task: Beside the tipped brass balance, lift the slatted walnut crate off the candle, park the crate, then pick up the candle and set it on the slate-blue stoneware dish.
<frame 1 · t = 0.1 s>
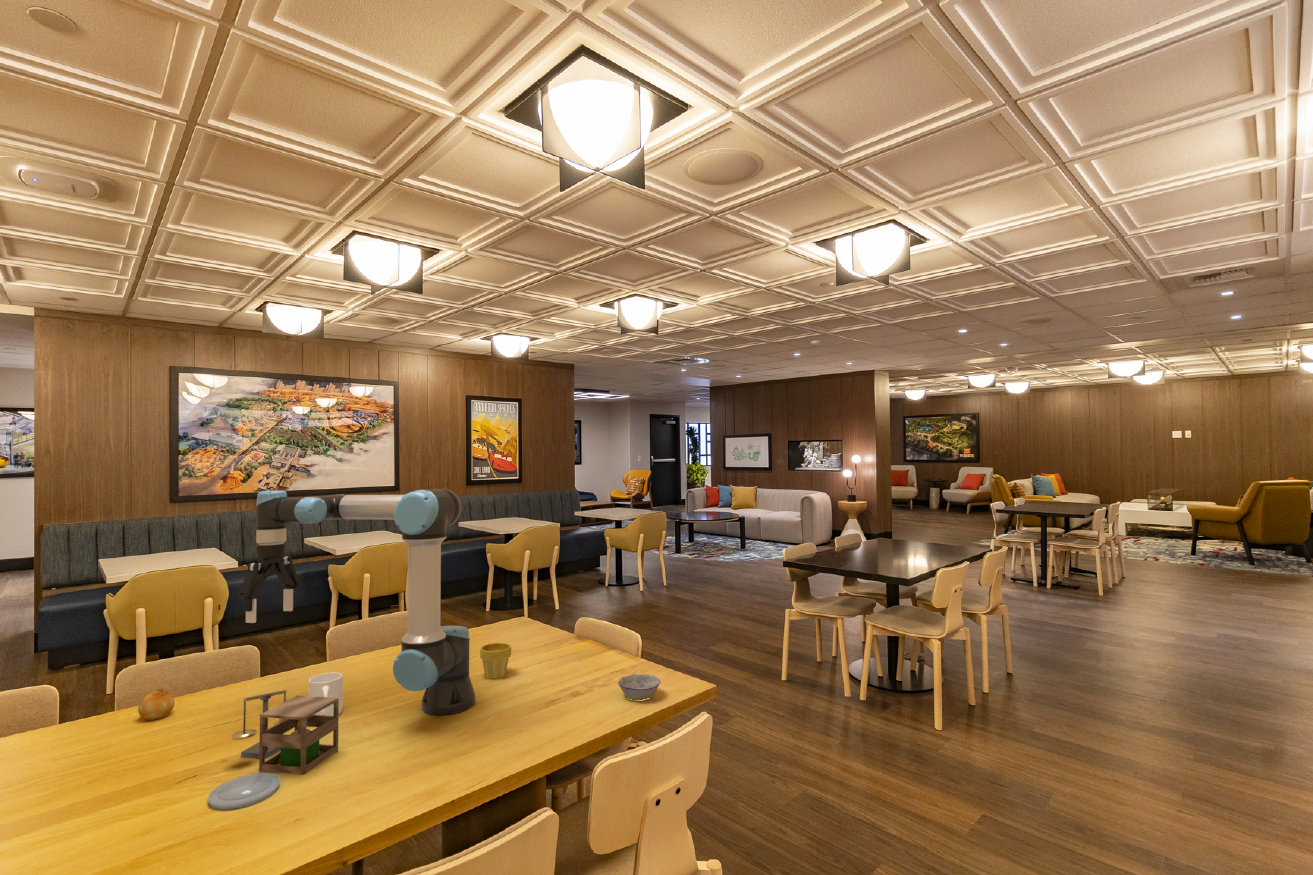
hand: (270, 616, 178), 28 cm above the table, fingers open, 13 cm apart
mug: (325, 717, 174), on the table
brown onion: (156, 717, 176), on the table
dish: (244, 793, 134), on the table
bowl: (639, 697, 187), on the table
balance: (264, 751, 154), on the table
plant pot: (495, 676, 207), on the table
candle: (299, 761, 149), on the table
crate: (299, 760, 149), on the table
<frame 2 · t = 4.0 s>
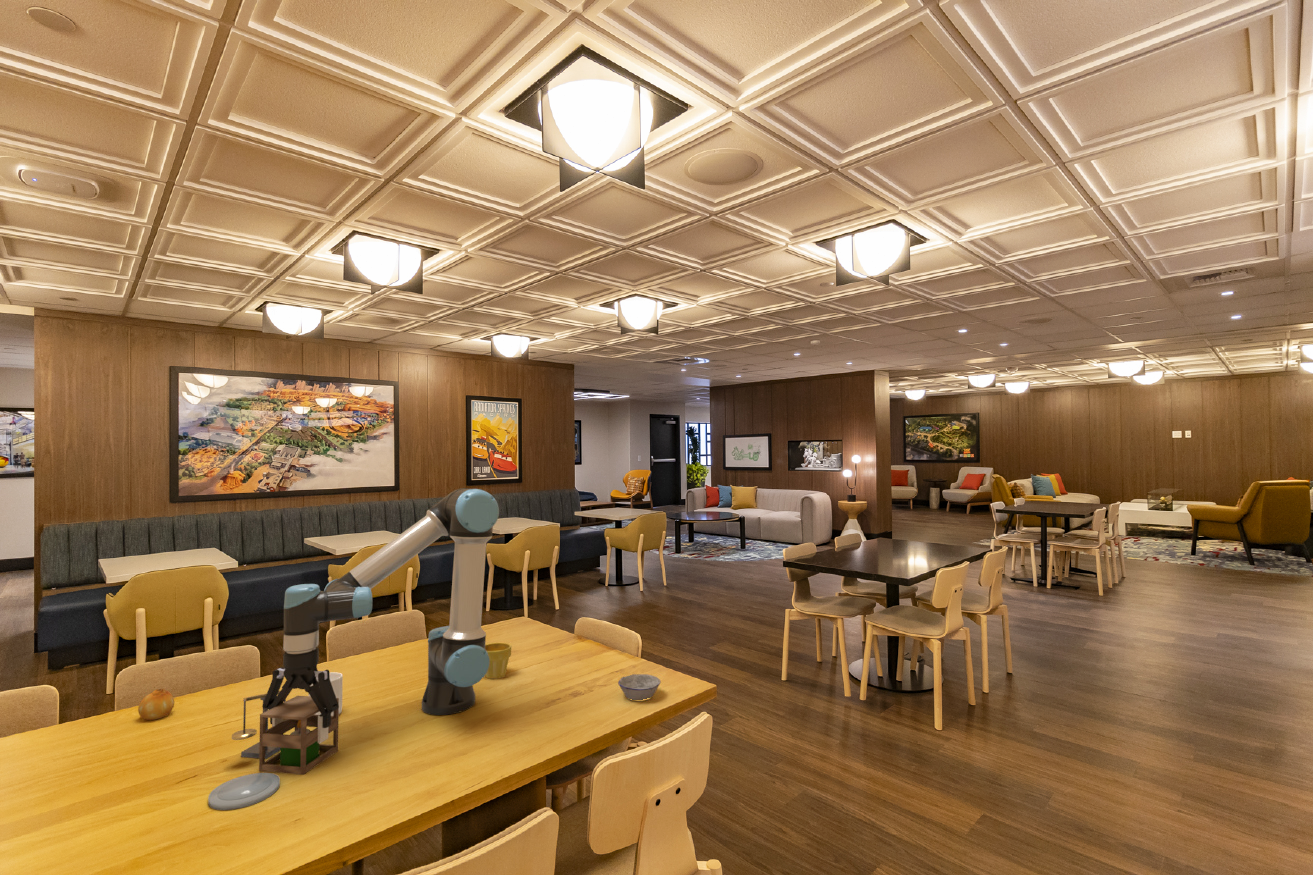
hand: (300, 739, 149), 5 cm above the table, fingers closed on crate, 12 cm apart
crate: (299, 760, 149), on the table, touching gripper
everything else where it was.
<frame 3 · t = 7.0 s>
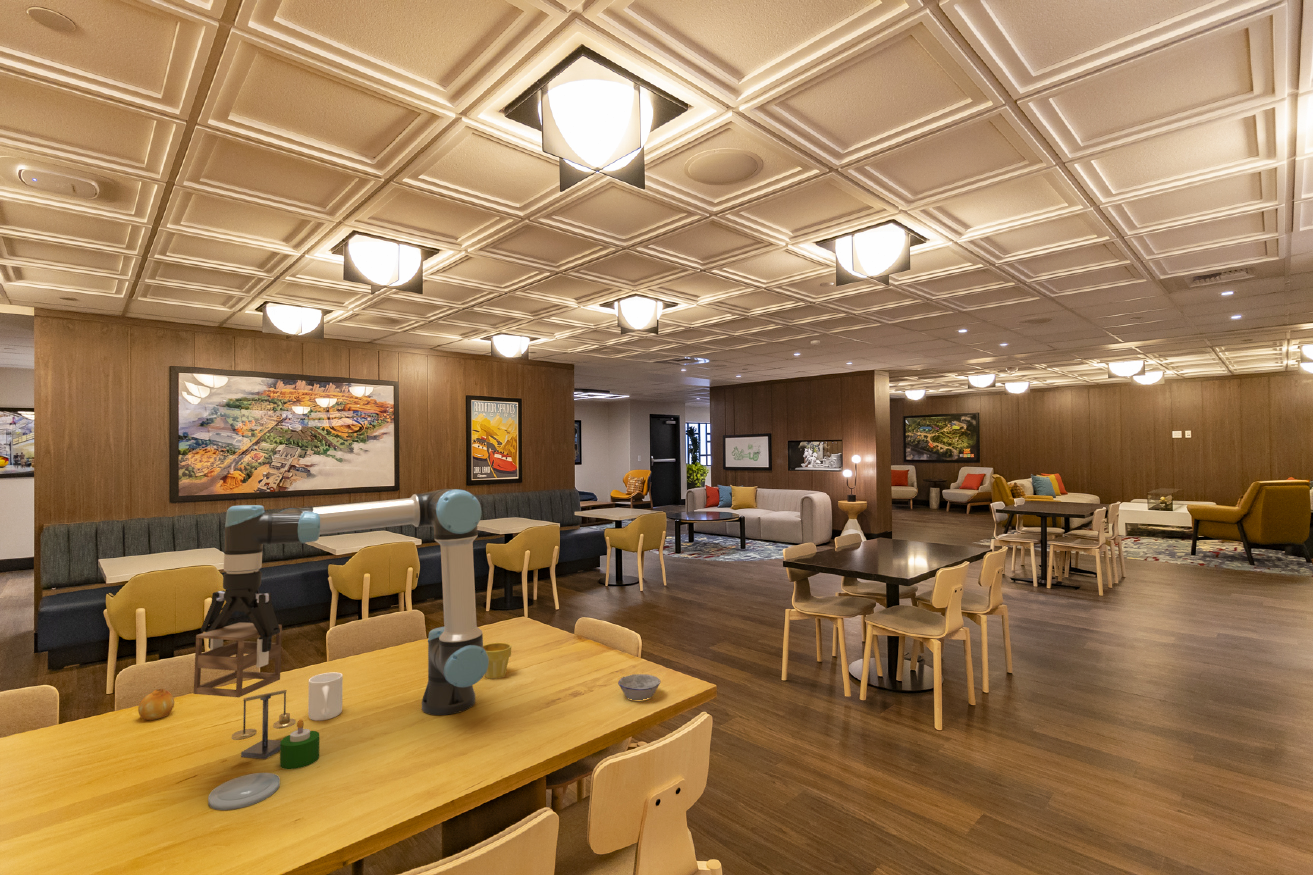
hand: (238, 664, 143), 25 cm above the table, fingers closed on crate, 12 cm apart
crate: (238, 686, 143), point 20 cm above the table, touching gripper
everything else where it was.
when the fingers open (7 cm above the table, at t = 10.2 s): crate drops 2 cm, on the table.
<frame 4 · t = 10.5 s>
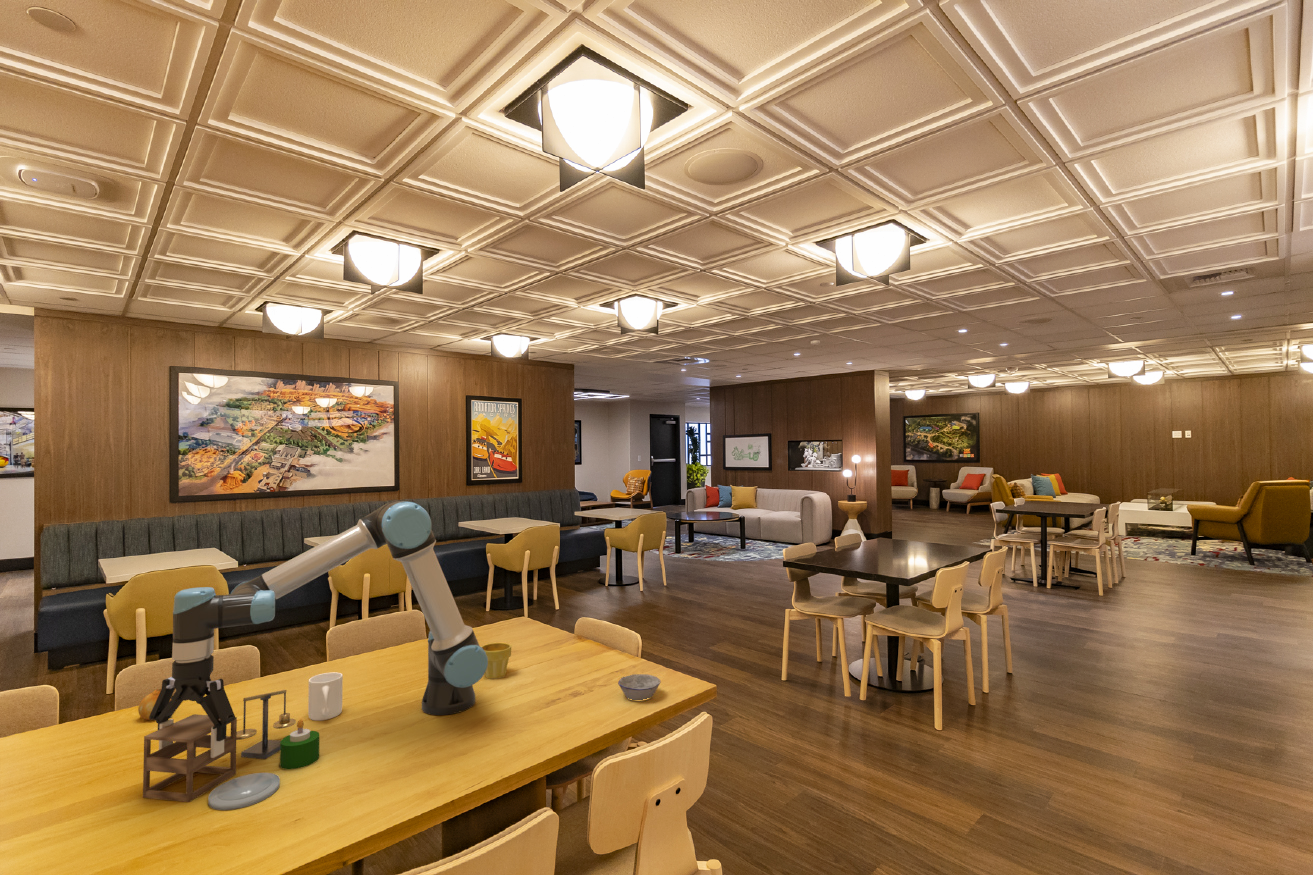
hand: (191, 752, 138), 7 cm above the table, fingers open, 13 cm apart
crate: (190, 785, 137), on the table
everything else where it was.
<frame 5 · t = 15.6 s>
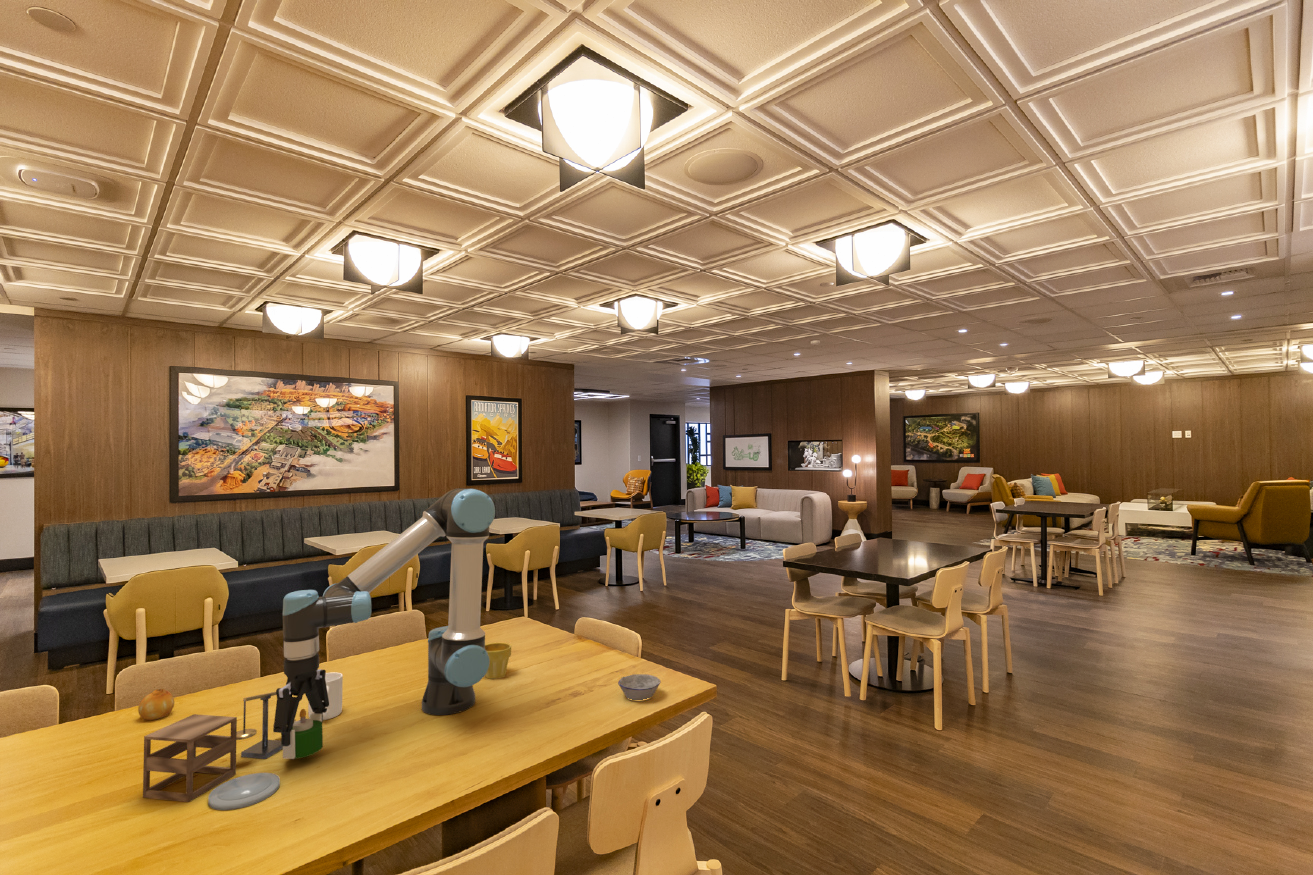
hand: (303, 748, 149), 3 cm above the table, fingers closed on candle, 8 cm apart
candle: (303, 750, 149), point 2 cm above the table, touching gripper
everything else where it was.
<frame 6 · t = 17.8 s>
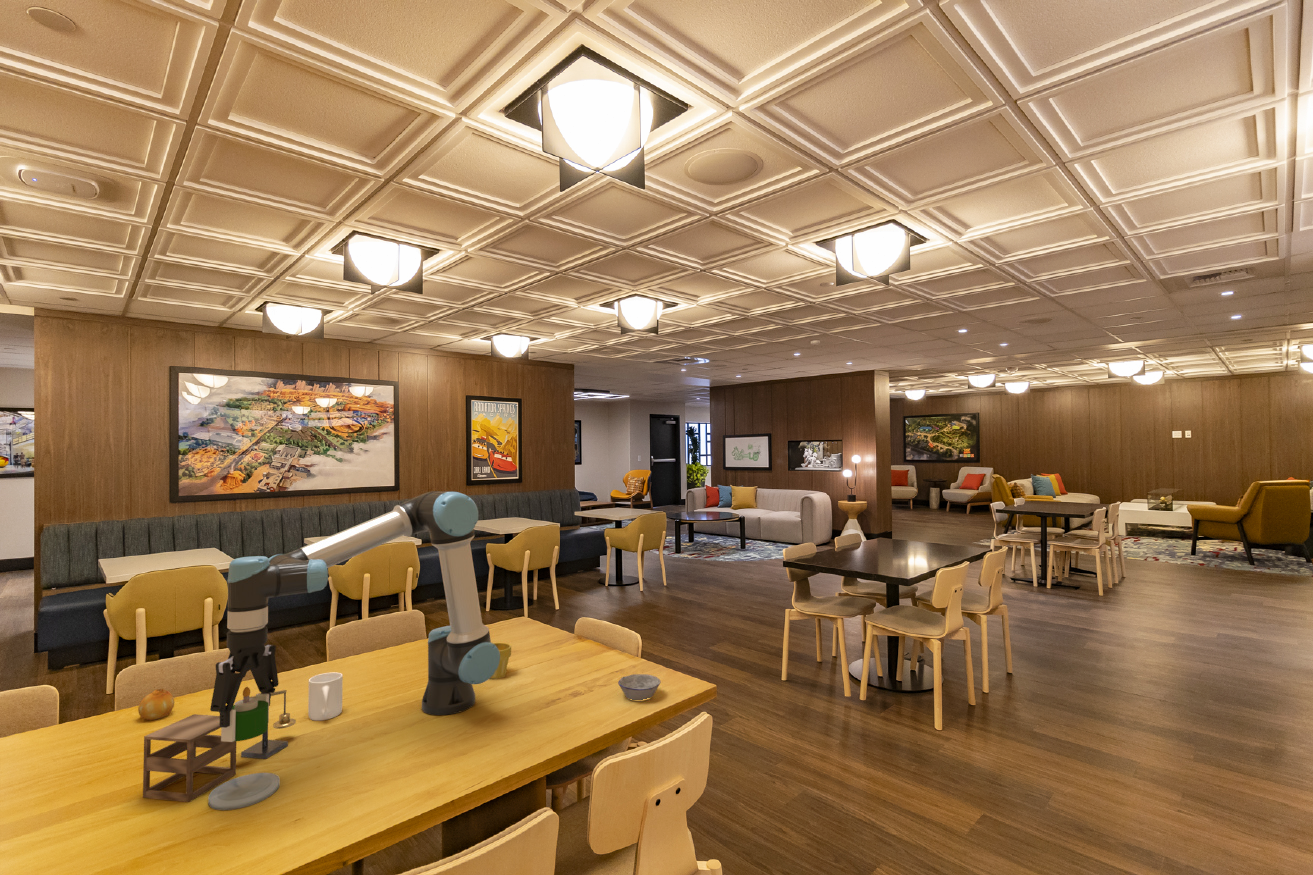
hand: (245, 731, 134), 13 cm above the table, fingers closed on candle, 8 cm apart
candle: (245, 733, 134), point 13 cm above the table, touching gripper
everything else where it was.
when the fingers open (2 cm above the table, at t = 20.0 s): candle stays where it is, resting on dish.
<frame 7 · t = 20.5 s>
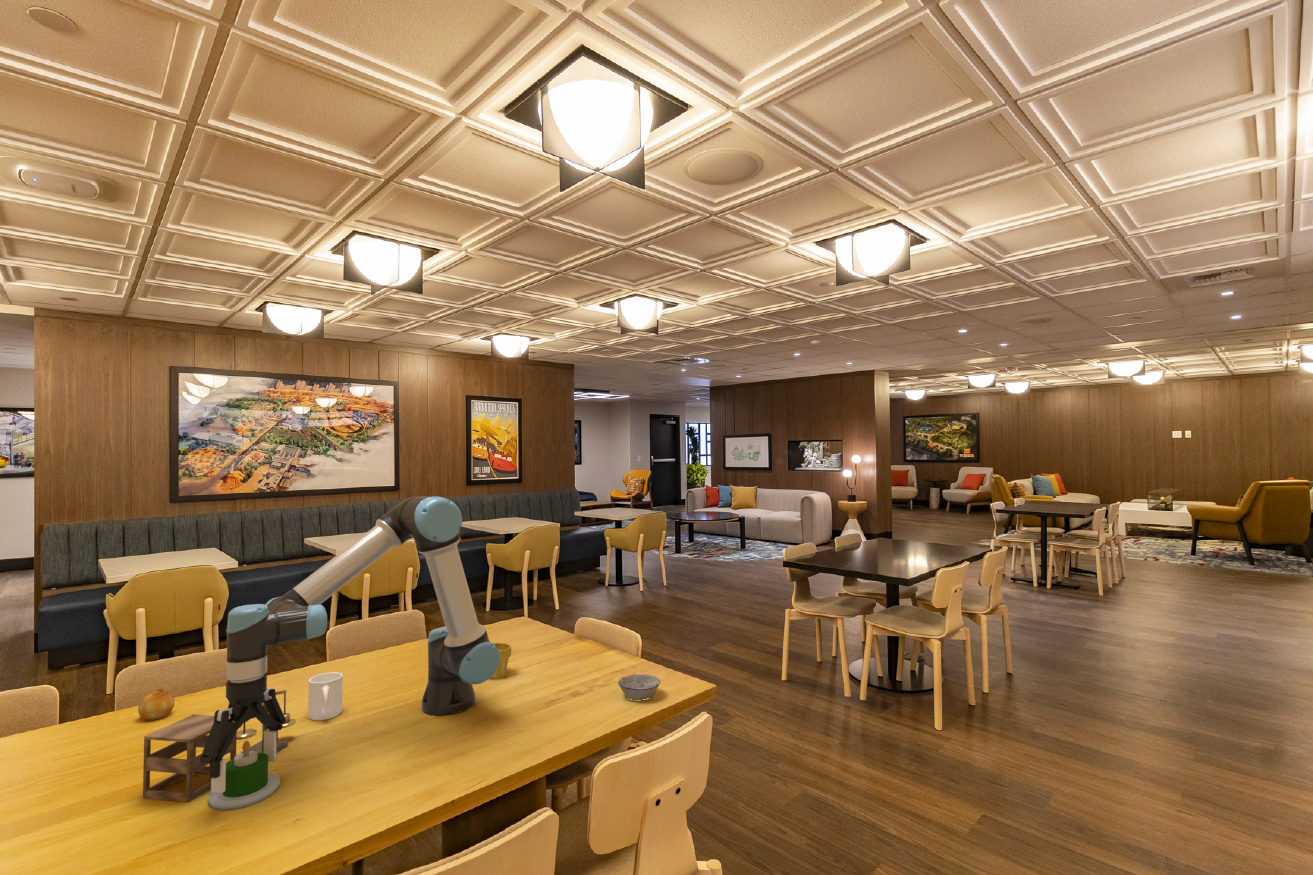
hand: (245, 775, 134), 4 cm above the table, fingers open, 13 cm apart
candle: (245, 787, 134), point 1 cm above the table, touching dish
everything else where it was.
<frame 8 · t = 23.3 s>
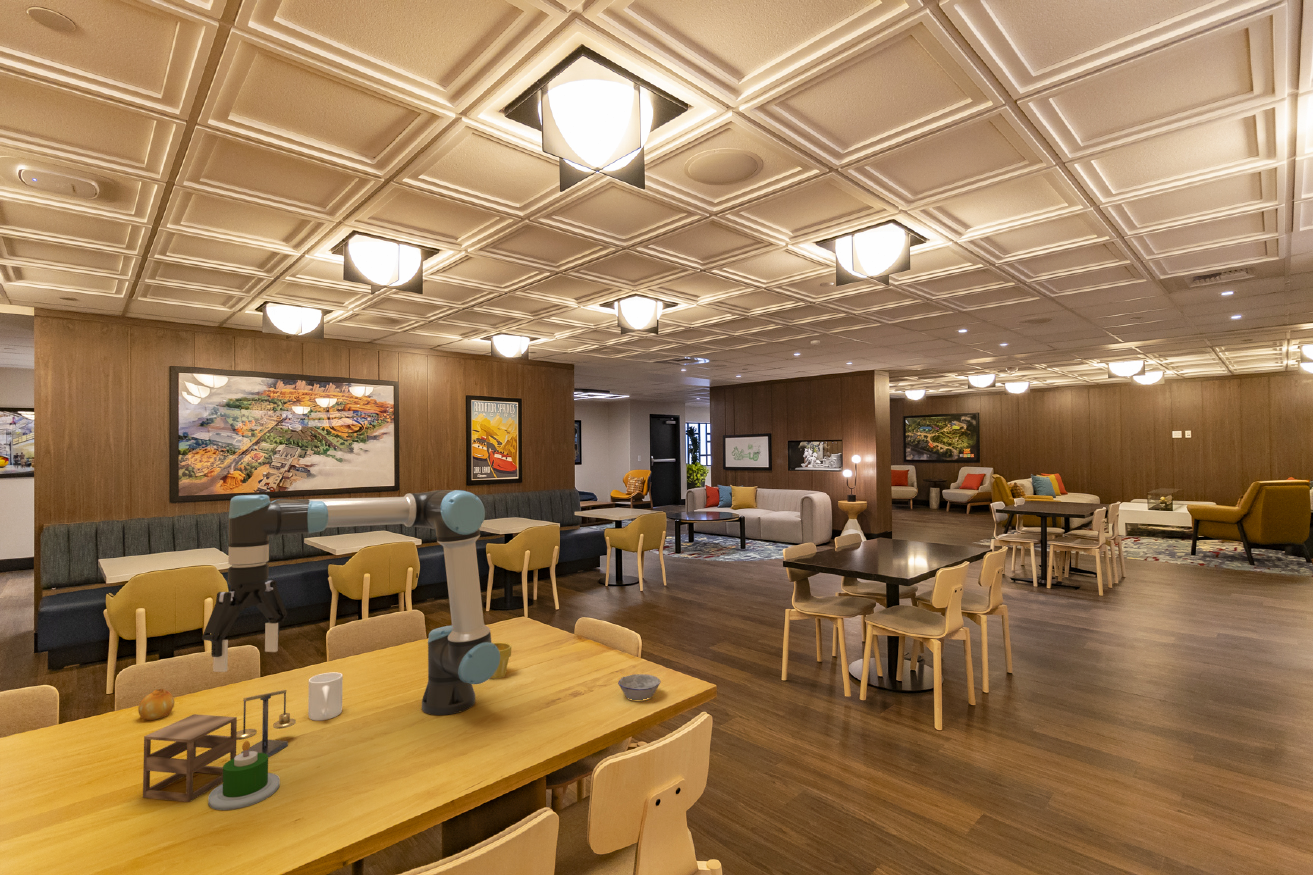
hand: (247, 660, 135), 29 cm above the table, fingers open, 13 cm apart
nothing on the table moved.
at the end: candle 0.1 cm from the dish (horizontally); candle touching dish; candle tilted 0° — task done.
